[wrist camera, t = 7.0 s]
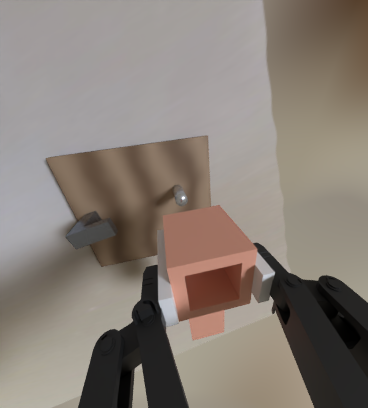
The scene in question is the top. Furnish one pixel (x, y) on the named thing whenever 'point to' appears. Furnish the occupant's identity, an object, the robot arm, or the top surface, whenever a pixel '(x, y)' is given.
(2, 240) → the top surface
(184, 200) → the peg
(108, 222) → the bracket
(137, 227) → the board
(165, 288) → the robot arm
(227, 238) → the link
